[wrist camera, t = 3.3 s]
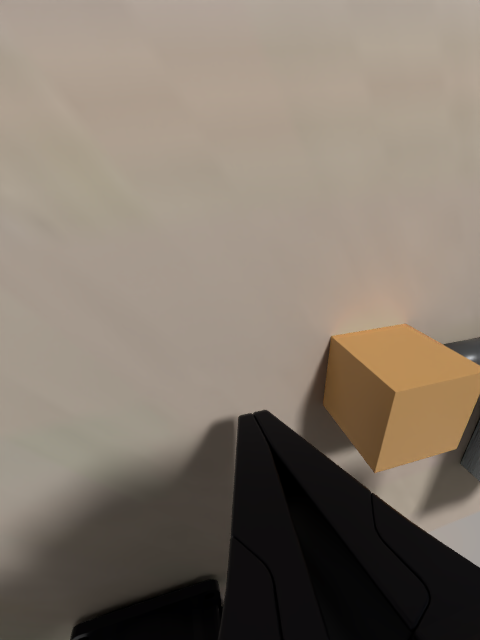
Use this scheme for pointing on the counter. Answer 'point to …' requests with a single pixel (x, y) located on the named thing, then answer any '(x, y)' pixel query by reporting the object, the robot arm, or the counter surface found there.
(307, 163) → the counter surface
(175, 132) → the counter surface
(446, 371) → the plug
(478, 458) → the housing
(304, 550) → the robot arm
